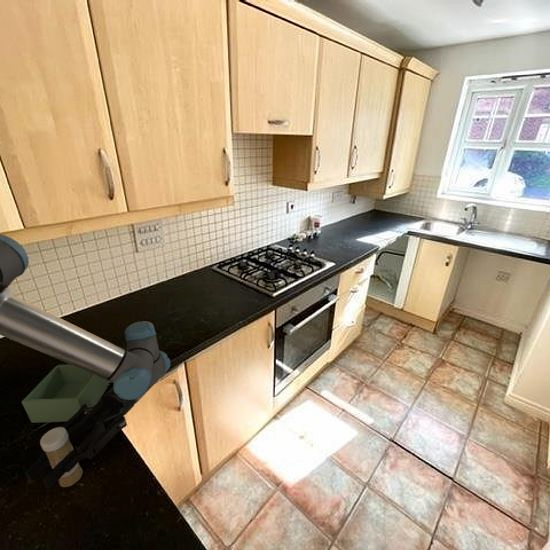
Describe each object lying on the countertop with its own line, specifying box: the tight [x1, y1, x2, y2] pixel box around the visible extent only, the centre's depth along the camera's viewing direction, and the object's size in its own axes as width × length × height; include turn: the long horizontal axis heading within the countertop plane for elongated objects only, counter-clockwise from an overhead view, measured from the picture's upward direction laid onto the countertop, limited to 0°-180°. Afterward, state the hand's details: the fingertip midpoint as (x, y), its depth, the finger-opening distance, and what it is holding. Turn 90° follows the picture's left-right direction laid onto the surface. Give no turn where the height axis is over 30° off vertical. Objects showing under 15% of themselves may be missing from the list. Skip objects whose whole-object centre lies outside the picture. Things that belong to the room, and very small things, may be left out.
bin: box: [21, 363, 112, 424], centre depth 87 cm, size 15×15×8 cm
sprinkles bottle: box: [39, 426, 84, 488], centre depth 65 cm, size 5×5×13 cm
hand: (37, 480), depth 60 cm, fingers closed on sprinkles bottle, 4 cm apart
